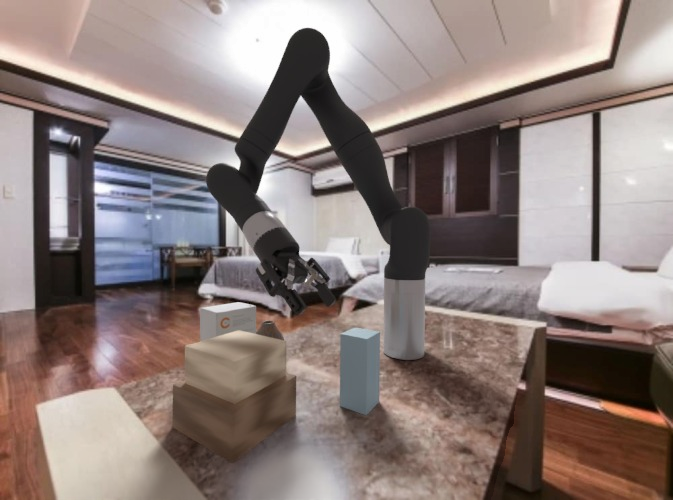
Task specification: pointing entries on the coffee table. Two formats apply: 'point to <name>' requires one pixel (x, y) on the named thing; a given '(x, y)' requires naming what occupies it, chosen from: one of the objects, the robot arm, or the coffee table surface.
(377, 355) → the block
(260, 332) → the vase
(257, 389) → the tower top
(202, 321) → the small box
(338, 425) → the coffee table surface
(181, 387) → the tower base
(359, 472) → the coffee table surface
